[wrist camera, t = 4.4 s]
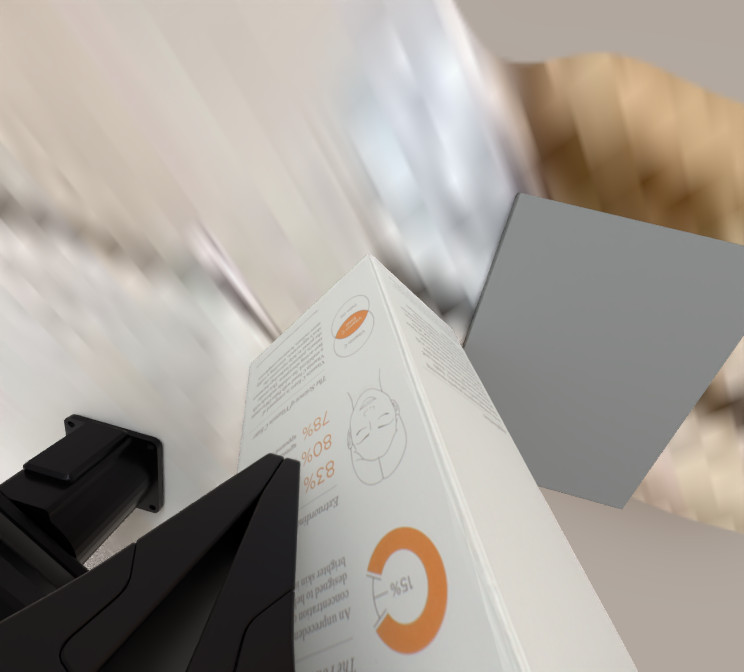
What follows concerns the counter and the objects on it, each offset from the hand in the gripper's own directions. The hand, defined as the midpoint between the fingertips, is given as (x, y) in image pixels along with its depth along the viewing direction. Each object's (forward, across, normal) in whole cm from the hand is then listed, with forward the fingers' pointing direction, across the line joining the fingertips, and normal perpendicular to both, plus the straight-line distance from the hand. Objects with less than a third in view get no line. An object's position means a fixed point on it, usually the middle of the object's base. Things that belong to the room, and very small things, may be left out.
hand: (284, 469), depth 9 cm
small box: (+9, 0, 0) cm, 9 cm away
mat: (+10, -11, -1) cm, 15 cm away
